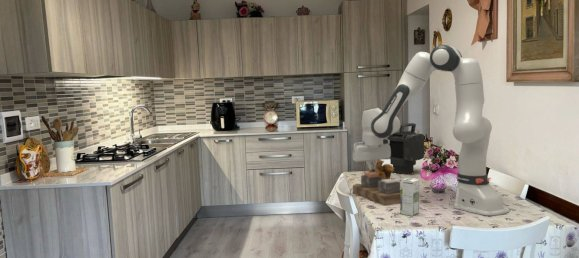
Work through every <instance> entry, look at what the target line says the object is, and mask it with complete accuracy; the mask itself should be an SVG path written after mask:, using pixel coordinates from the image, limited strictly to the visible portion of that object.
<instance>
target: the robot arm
mask: <svg viewBox="0 0 579 258" xmlns="http://www.w3.org/2000/svg"><path fill="white" fill-rule="evenodd" d="M436 70H437V71H440V72H450V73H452V75H453V78H454V85H455V86H454V89H455V101H456V103H455V105H456V107H455V109H456V110H455V119H454V125H453V127H452V135H453V137H454V139H455V140H456V141H458V142H459V143H461V147H460V148H461V149H460V151H459V153H458V172H457V174H456V181H457V188H456V195H455V199H454V201H453V202H454V203H453V208H454V209H457V210H459V211H460V210H461V211H465V212H469V213H474V214H477V215H482V216H499V215H504V214H507V213H509V212H510V209H509V208H507V207H505V206H504V204H503V198H502V196H501V194H499V192H497V190H495V188H494V187H492V185H491V184H490V181H491V180H492V177H489V176H488V174H487V155H488V154H487V153H488V151H489V149H488V148H489V143H490V139H491V138H490V137H491V132H492V128H493V126H492V123H491V121H490V120H489V119H488V118H487V117H484V116H483V109H484V103H485V91H484V82H483V75H482V69H481V66H480V63H479V62H478V61H477V59H475V58H471V57H465V58H464V57H463V56H462V53H461V51H459V50H458V49H457V48H456V47H454V46H452V45H447V44H439V45H437V46H435V47H434V48H433V49H432V50H431V51H430V53H429V52H425V51H419V52H416V53H415V55H414V56H413V57H412V59H411V60H410V61H409V63H408V64H407V66H406V68H405V69H404V71H403V73H402V75H401V77H400V79H399V80H398V82H397V83H398V84H397V85H396V87H395V89H394V91H393V93H392V95H391V97H390V98H389V100H388V101H387V103H386V104H385V106H384V108H383V110H382V109H380V108H379V107H377V106H376V107H370V108H366V109H364V110H363V112H362V116H361V127H362V135H361V136H362V137H361V139H362V140H361V141H359V142H358V141H357V142H355V143H354V144H353V146H352V160H353V161H354V162H355V163H359V162H366V164H367V166H368V170H372V169H375V168H376V166H375V165H376V164H377V160H379V159H380V160H386V159H389V158H390V156H391V148H390V145H389V143H390V140H388V137H389V135H392V134H394V133H396V132H399V130H400V126H401V125H402V123H401V120H400V118H399V117H398V116H397V115H398V114H399V112H400V110H401V109H402V108H403V106H404V104H405V103H406V102H407V101H408V100H410V99H411V98H413V97H414V96H416V95H418V94H419V93H420V91H422V89H423V88H424V87H425V85H426V84H427V81H428V80H429V78H430V76H431V75H432V74H433V72H435V71H436ZM372 162H373V165H371V164H372Z"/></svg>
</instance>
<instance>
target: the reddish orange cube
mask: <svg viewBox="0 0 579 258" xmlns="http://www.w3.org/2000/svg"><path fill="white" fill-rule="evenodd" d="M363 175H364V176H366V177H369V178H372V177H379V174H378V173H375V172H369V171H367V172H364V174H363Z"/></svg>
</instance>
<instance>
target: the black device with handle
mask: <svg viewBox="0 0 579 258" xmlns="http://www.w3.org/2000/svg"><path fill="white" fill-rule="evenodd" d="M407 127H411V129H410V131H409V130H405V128H407ZM416 128H417V124H416V123H413V122H411V123H409V122H408V123H401V126H400V129H399V130H398V131H397V132H396V133H394V134H392V135H389V136H387V139H388V140H390V143H389V145H390V148H391V156H390V158H388V159H389V160H390V161H389V162H390V165H392V167H394V169H393V170H394V172H393V173H392V174H394V173H396V174H395V175H401V174H408V175H412V173H413V174H414V166H417V161H420V160H423V159H424V158H425V134H423V133H420V131H421V129H419V128H417V129H416ZM404 130H405V131H404ZM416 131H417V132H416Z"/></svg>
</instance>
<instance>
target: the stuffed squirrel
mask: <svg viewBox="0 0 579 258" xmlns="http://www.w3.org/2000/svg"><path fill="white" fill-rule="evenodd" d="M370 164H371V165H373V161H371V163H370ZM375 166H376V168H375V169H371V170H370V169H368V172H375V173H378V174H379V176H381V177H382V180H385V179H391V175H392V174H394V173H393V172H394V170H393V169H394V167H393V165H392V164H389V163H386V164H385V161H384V160H383V159H379V160H377V164H376V165H375Z"/></svg>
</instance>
